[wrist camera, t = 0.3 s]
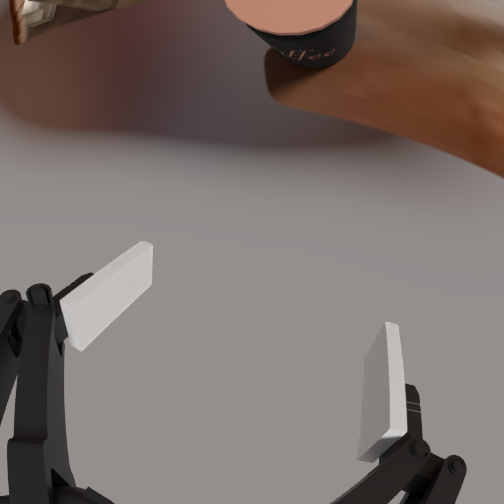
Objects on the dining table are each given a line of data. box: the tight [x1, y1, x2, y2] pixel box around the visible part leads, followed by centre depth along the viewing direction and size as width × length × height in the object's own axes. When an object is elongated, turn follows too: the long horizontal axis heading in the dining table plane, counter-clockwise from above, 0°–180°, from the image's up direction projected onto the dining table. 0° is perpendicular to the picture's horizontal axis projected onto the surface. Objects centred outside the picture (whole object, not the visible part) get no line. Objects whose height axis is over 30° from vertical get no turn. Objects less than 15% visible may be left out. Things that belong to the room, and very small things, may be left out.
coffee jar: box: [225, 0, 357, 68], centre depth 24 cm, size 11×11×18 cm
